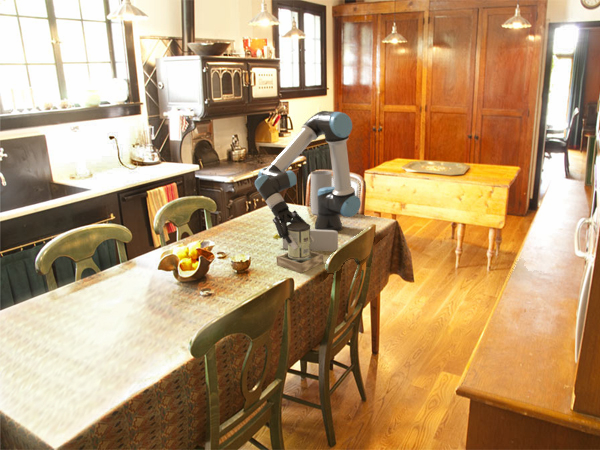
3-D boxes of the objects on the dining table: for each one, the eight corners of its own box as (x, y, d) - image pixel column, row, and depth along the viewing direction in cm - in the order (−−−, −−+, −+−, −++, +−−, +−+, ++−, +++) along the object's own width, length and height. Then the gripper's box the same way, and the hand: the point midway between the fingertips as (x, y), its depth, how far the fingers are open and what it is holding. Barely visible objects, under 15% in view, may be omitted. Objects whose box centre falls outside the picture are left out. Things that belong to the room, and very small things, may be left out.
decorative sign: (338, 249, 239) (338, 229, 236) (337, 251, 235) (337, 232, 232) (274, 245, 245) (273, 226, 242) (272, 248, 241) (271, 229, 238)
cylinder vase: (310, 215, 295) (309, 174, 287) (312, 209, 307) (312, 170, 299) (330, 215, 293) (330, 175, 285) (332, 210, 305) (332, 170, 297)
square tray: (298, 255, 231) (298, 247, 230) (323, 262, 221) (323, 254, 220) (276, 264, 220) (276, 256, 219) (301, 273, 211) (301, 264, 210)
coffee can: (293, 250, 226) (293, 221, 222) (314, 253, 222) (313, 223, 218) (283, 257, 217) (282, 227, 213) (304, 260, 213) (304, 230, 209)
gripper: (290, 204, 232) (315, 243, 226) (255, 215, 216) (282, 256, 210) (298, 195, 227) (324, 234, 221) (263, 205, 211) (291, 247, 205)
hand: (304, 245), depth 216 cm, fingers closed on coffee can, 10 cm apart
